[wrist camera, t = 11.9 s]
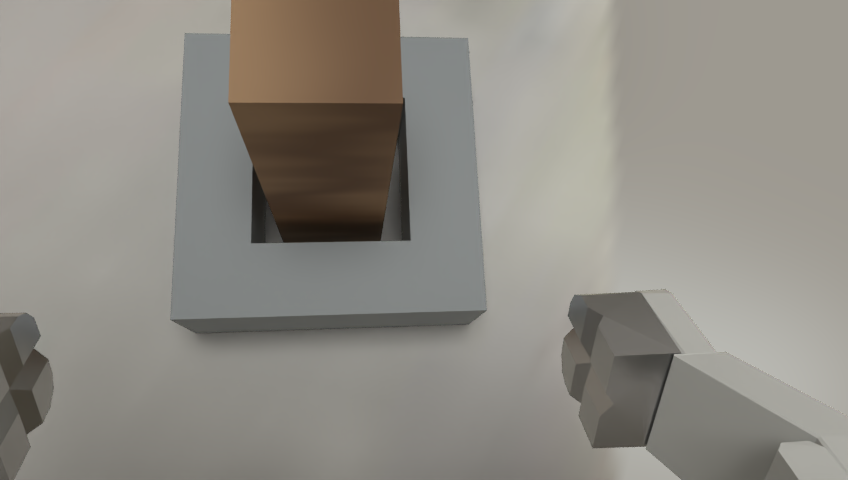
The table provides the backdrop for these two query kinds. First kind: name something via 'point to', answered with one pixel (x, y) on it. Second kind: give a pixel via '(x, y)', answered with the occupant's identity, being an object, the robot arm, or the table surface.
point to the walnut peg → (319, 110)
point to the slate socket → (328, 261)
